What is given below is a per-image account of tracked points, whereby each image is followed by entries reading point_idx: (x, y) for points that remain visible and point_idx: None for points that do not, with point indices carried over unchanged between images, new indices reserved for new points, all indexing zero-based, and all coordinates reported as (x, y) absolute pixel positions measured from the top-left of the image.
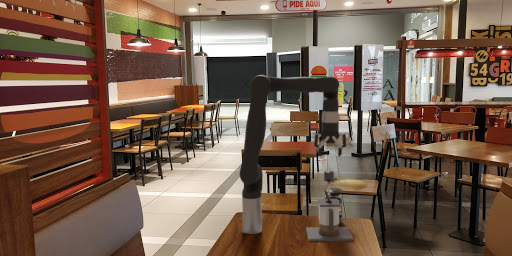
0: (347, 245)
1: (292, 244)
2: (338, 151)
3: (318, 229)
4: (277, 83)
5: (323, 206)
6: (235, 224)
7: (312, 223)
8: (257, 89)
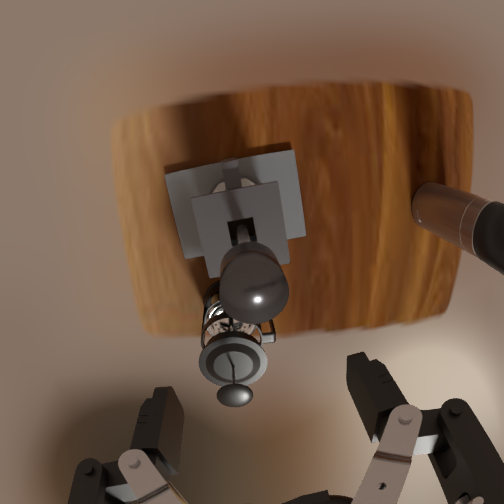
0: (181, 139)
1: (333, 124)
2: (171, 433)
3: None
4: None
5: (263, 183)
6: None
7: None
8: None
